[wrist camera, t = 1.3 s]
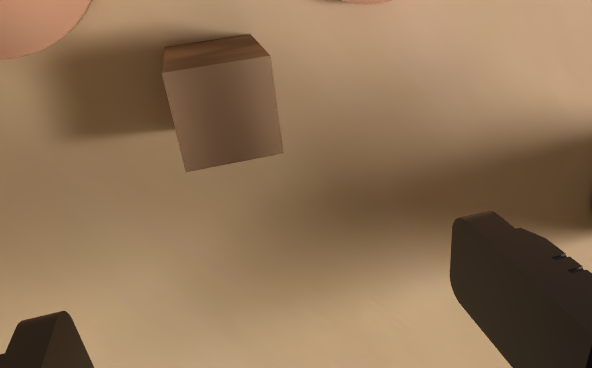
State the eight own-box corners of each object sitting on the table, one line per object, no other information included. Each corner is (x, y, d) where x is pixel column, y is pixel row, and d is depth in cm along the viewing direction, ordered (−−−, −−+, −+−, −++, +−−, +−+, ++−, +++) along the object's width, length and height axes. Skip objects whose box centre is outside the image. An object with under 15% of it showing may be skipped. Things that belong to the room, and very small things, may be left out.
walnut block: (250, 34, 25) (270, 55, 19) (262, 114, 27) (283, 153, 21) (165, 47, 24) (161, 73, 19) (184, 128, 26) (185, 172, 21)
